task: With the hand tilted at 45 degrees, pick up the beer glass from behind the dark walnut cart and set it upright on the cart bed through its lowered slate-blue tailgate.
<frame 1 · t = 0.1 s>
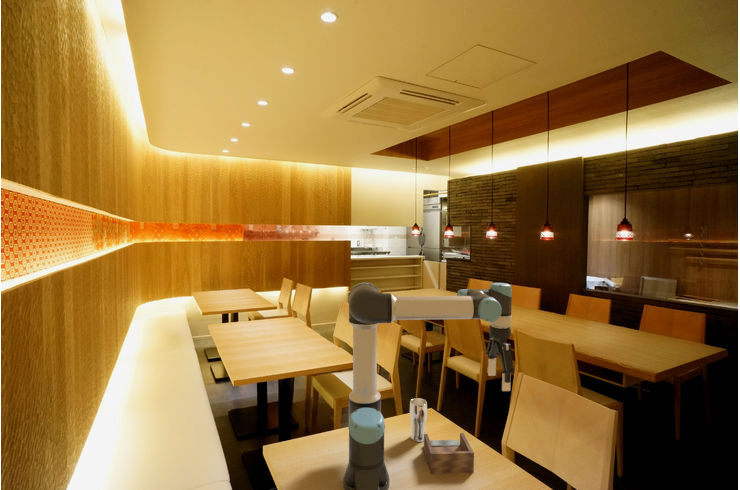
hand: (498, 382, 146), 28 cm above the table, tool pointing down, fingers open, 13 cm apart
beer glass: (418, 438, 160), on the table
cart bed: (447, 461, 144), on the table
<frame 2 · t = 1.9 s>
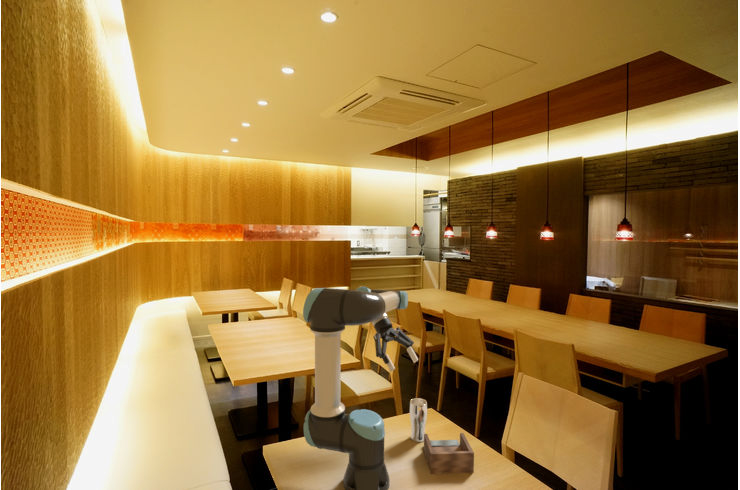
hand: (404, 365, 164), 27 cm above the table, tool tilted 45°, fingers open, 13 cm apart
nothing on the table moved.
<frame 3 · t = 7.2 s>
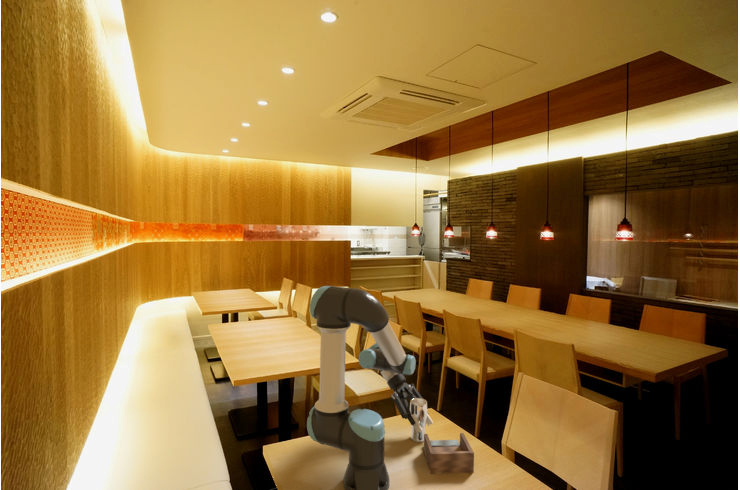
hand: (425, 427, 157), 5 cm above the table, tool tilted 45°, fingers closed on beer glass, 7 cm apart
beer glass: (418, 438, 160), on the table, touching gripper
when the fingers open (9 cm above the table, at t = 12.3 s): beer glass drops 1 cm, resting on cart bed.
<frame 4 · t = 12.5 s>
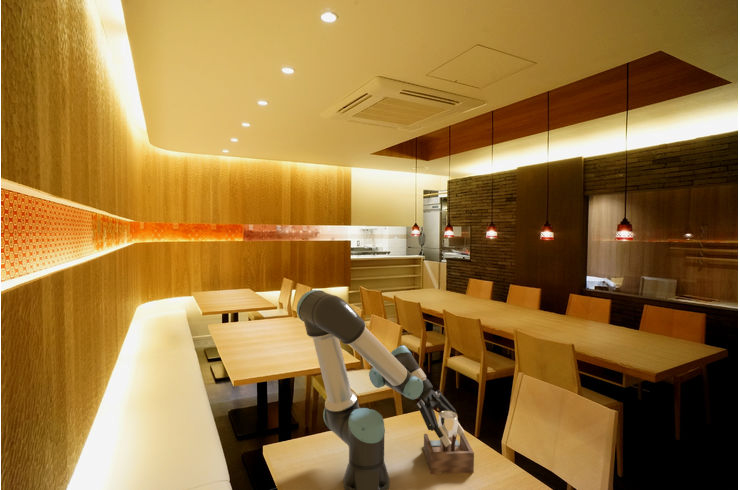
hand: (455, 439, 142), 9 cm above the table, tool tilted 45°, fingers open, 9 cm apart
beer glass: (447, 455, 144), point 2 cm above the table, touching cart bed
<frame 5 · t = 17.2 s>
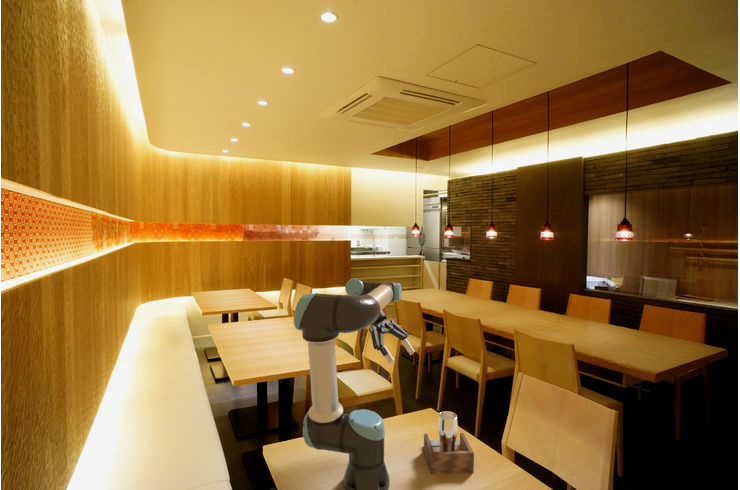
hand: (402, 357, 158), 33 cm above the table, tool tilted 45°, fingers open, 13 cm apart
nothing on the table moved.
at the end: beer glass inside the target area on the cart bed (0.2 cm from its centre), point 1.8 cm above the cart bed's base; beer glass tilted 0°; the gripper is holding nothing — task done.
